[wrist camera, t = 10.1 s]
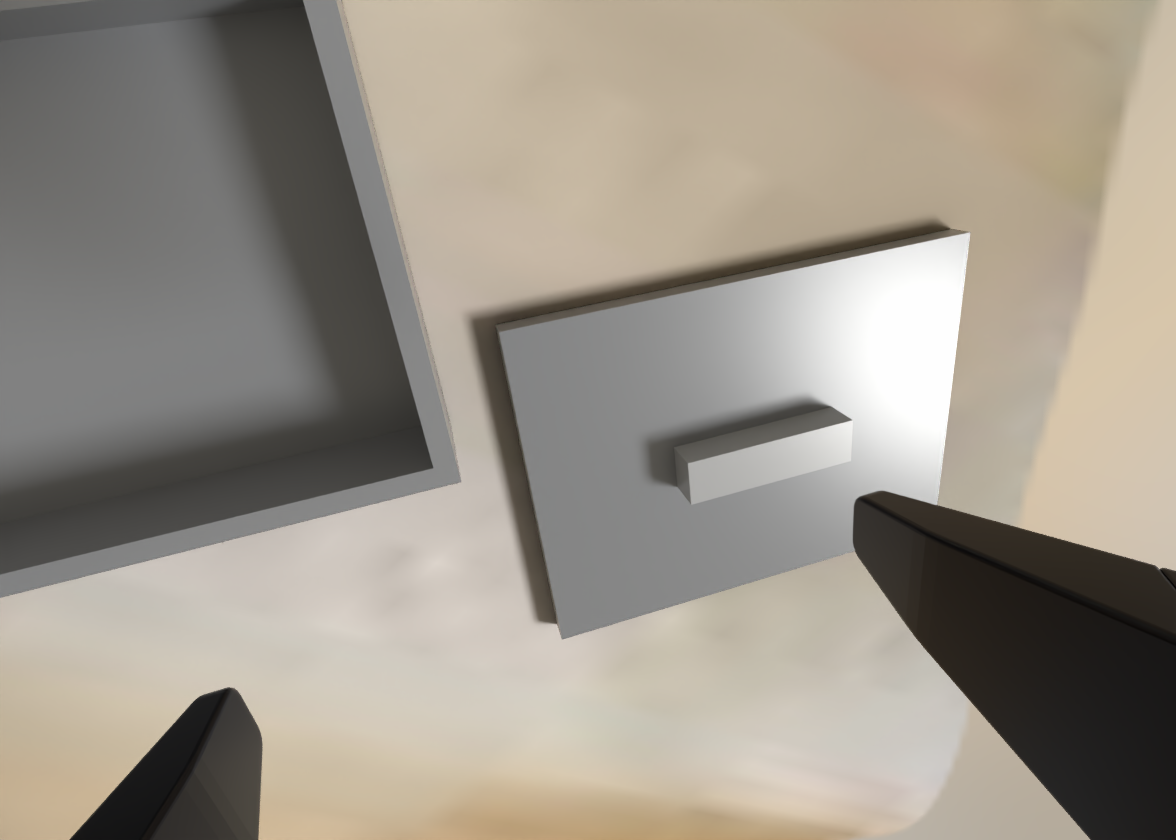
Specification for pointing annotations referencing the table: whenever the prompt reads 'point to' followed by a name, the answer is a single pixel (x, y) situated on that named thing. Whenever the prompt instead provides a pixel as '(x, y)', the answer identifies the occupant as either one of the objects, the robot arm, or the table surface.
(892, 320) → the bin lid
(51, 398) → the bin
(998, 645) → the robot arm
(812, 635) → the table surface
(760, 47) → the table surface
